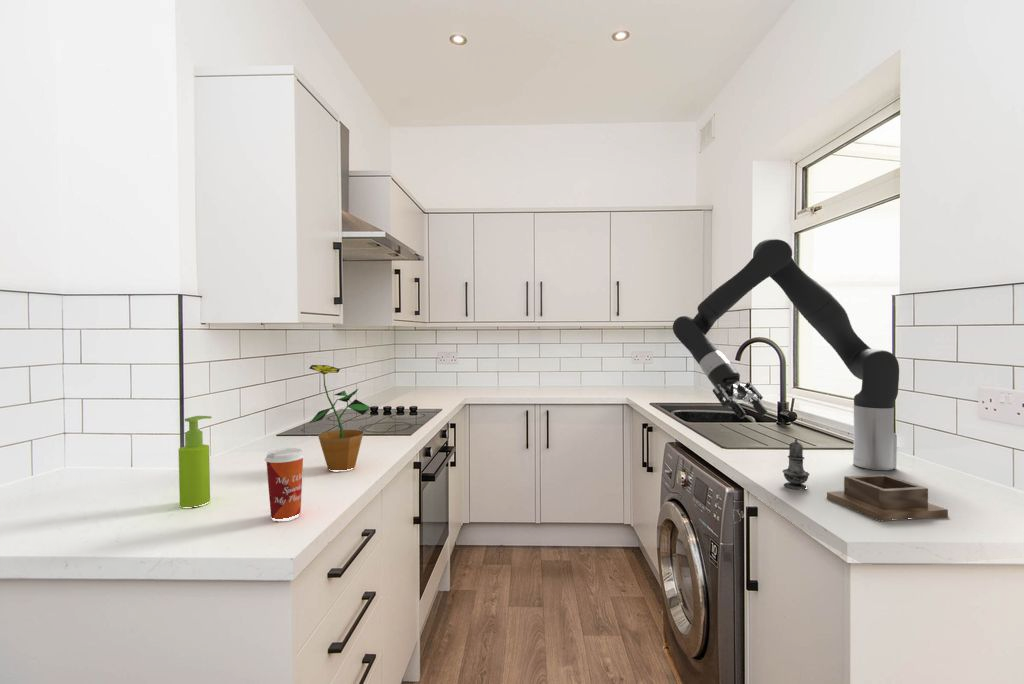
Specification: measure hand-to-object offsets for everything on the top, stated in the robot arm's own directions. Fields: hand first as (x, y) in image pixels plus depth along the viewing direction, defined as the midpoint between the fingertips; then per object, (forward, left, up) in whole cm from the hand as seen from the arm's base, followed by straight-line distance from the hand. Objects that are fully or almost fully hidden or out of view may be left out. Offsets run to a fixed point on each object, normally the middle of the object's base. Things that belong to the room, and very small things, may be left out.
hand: (754, 415), depth 134 cm
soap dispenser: (+139, +1, -16) cm, 140 cm away
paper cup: (+116, +13, -16) cm, 118 cm away
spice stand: (-13, +27, -16) cm, 34 cm away
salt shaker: (-4, +11, -16) cm, 20 cm away
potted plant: (+112, -24, -16) cm, 115 cm away
